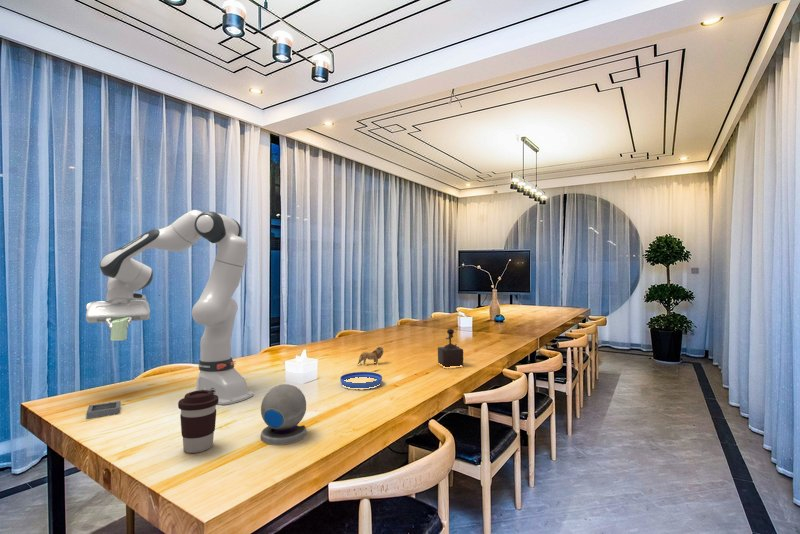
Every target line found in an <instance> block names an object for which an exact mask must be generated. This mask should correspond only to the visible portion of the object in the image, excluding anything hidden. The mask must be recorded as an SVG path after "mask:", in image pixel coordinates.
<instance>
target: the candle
mask: <svg viewBox="0 0 800 534" xmlns="http://www.w3.org/2000/svg"><path fill="white" fill-rule="evenodd" d="M127 324H128V318H120V319H117V320H114V321H112V322H111V326H112V329H111V330H110V341H112V342H113V341H114V342H120V341H122V342H123V341H126V340H128V339H127V338H128V329H127Z"/></svg>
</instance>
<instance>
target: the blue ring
mask: <svg viewBox="0 0 800 534" xmlns="http://www.w3.org/2000/svg"><path fill="white" fill-rule="evenodd" d="M355 377H358V378H359V377H367V378H369V377H370V378H374V379H377V380H376V381H373V382H366V383H352V382H346V381H344V380H346V379H347V380H348V379H350V378H355ZM339 380H340V383H341V386H342V385H344V386H346V387H350V388H369V387H374V386H377V385H379V384H380V383H381V384H382V381H383V376H382V374H380V373H376V372H373V371H371V372H370V371H356V372H348V373H345V374H343V375H341V376H340V379H339Z"/></svg>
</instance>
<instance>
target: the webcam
mask: <svg viewBox="0 0 800 534" xmlns="http://www.w3.org/2000/svg"><path fill="white" fill-rule="evenodd" d="M306 410H307V400H306V396H305V394H304V392H303V391H302V390H301V389H300V388H298V387H297V386H295V385H292V384H287V383H285V384H279V385H277V386H274V387H272V388H271V389H270V390H269V391H267V393H265V395H264V397H263V399H262V401H261V405H260V415H261V418H262V419H263V422H264V423H265V424H266V425H267V426H266V427H264V428H263V429H262V430H261V432H260V441H262V442H263V443H265V444H268V445H273V446H274V445H275V446H280V445H281V446H283V445H288V444H293V443H296V442H299V441H302V439H304V438H305V437H307V427H306V426H305V425H298V424H300V423H301V421H302V420H303V419H304V416H305V415H306V412H307V411H306Z"/></svg>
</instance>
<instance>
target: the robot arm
mask: <svg viewBox="0 0 800 534" xmlns="http://www.w3.org/2000/svg"><path fill="white" fill-rule="evenodd" d="M242 231H243V230H242V226H241V224H240V223H239V222H238V221H237V220H235V219H234V218H232V217H231V218H230V217H229V216H227V215H225V214H222V213H217V212H215V211H204V212H202V211H201V210H198V209H191V210H190V211H188V212H185V214H183V215H181V216H180V217H178V218H177V219H176V220H175V221H173V222H172V223H171V224H170V225H168V226H166V227H162V228H158V229H153V228H152V229H151V230H147V231H146V232H145V233H143V234H141V235H139V236H138V237H136V238H134V239H133V240H131V241H130V242H128V243H126V244H125V245H123V246H122V247H120V248H118V249H115V250H113V251H110V252H109V253H107V254H105V255H104V256H103V257H102V258H101V260H100V262H99V268H100V271H101V273H102V274H103V276H106V277H107V283H106V285H107V286H106V287H107V288H106V289H107V292H106V299H105V300H101V301H100V300H99V301H91V302H89V303H87V304H86V305H85V310H86V314H85V321H86V322H87V323H88V324H96V323H97V324H98V323H100V324H101V323H105V324H106V325H107V326H108V327H109V331H111V329H112V326H111V323H112V321H114V320H117V319H120V318H128V324H127V330H128V329H129V326H130V325H131V323H132V321H133V322H134V321H147V320H149V319H151V308H150V303H149V302H148V301H147V297H146V295H145V294H144V293H143V294H142V293H137V292H138V291H141V290H142V289H145V288H147V287H148V286H149V285H150V284H151V283H152V281H153V278H154V272H153V268H151V266H148V265H147V264H145V263H143V262H140V261H138V260H136V259H134V257H136V256H137V255H139V254H141V253H142V252H144V251H145V250H149V249H156V250H163V251H169V252H176V253H177V252H178V253H179V252H183V251H186V250H188V249H190V248H191V247H192V246H194V244H196V243H197V242H198V241H199V240H200V239H202V238H203V239H205V240H207V241H208V242H209V243H211V244H216V247H217V251H216V255H215V257H214V262H213V265H212V268H211V271H210V276H209V278H208V280H207V282H206V285H205V287H203V290H202V292H201V294H200V297H199V298H198V300H197V301H196V302H195V304H193V306H192V309H191V317H192V319H193V321H195V323H196V324H198V325H200V326H204V331H203V333H202V336H201V338H200V344H199V345H200V347H199V348H200V351H199V352H200V355H199V356H200V359H199V361H198V370H199V373H198V376H197V378H196V386H195V391H198V390H209V391H212V392H213V394H214V395H217V396H218V404H217V405H222V406H223V405H232V404H236V403H239V402H242V401H245V400H247V399H250V398H252V397H253V396H254V392H253V391H251V390H248V385H247V380H246V378H245V377H243V376H242V375H241V374H240V372H238V371H237V369H236V368H235V365H236V362H237V361H236V360H235V361H234V359H233V357H232V335H233V330H234V324H235V318H236V315H237V313H238V302H237V301H236V300H235V299H234V298H233V296H234V293H235V292H236V290H237V289H238V287H239V285H240V282H241V279H242V275H243V273H244V272H243V271H244V268H245V264H246V262H247V261H246V260H247V256H248V254H247V253H248V242H247V241H246V239H244V238H243V237H241V236H242V233H243V232H242Z"/></svg>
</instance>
